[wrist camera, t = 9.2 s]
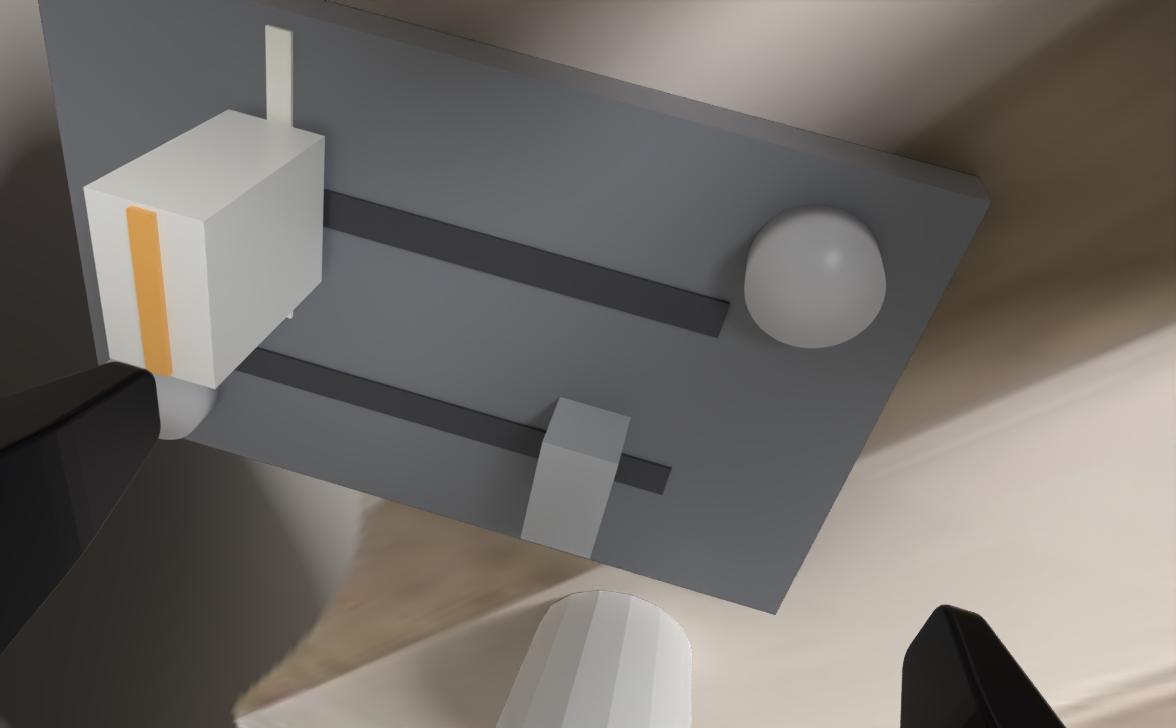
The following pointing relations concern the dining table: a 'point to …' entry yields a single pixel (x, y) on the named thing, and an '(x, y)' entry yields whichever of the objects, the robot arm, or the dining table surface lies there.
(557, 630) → the white cup
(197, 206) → the fader
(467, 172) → the console
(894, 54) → the dining table surface
